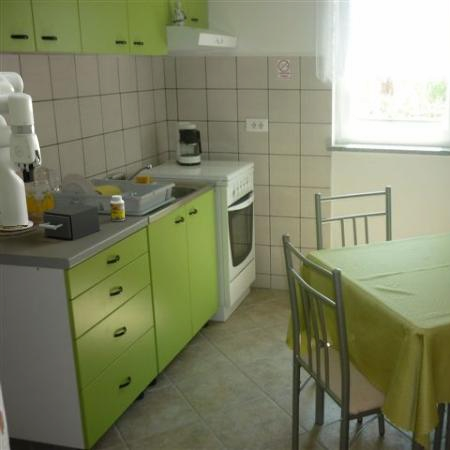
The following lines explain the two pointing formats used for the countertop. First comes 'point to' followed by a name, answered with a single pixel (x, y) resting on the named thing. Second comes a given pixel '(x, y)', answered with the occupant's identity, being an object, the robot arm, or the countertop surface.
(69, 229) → the drawer
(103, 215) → the countertop surface
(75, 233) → the dark grey box
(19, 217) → the robot arm
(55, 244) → the countertop surface
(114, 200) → the supplement bottle
